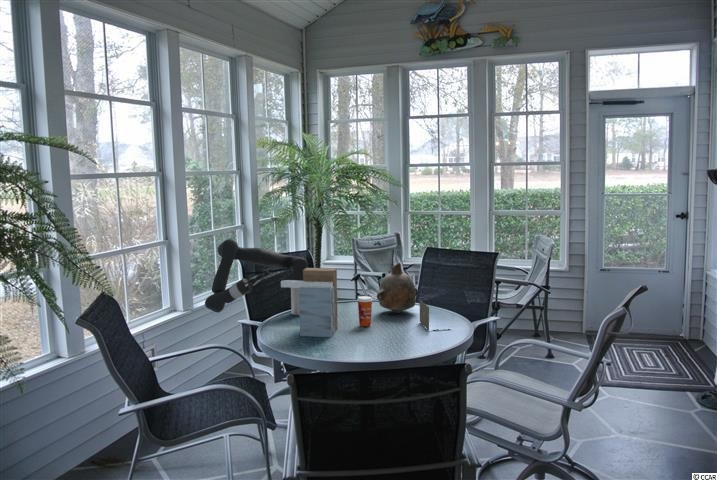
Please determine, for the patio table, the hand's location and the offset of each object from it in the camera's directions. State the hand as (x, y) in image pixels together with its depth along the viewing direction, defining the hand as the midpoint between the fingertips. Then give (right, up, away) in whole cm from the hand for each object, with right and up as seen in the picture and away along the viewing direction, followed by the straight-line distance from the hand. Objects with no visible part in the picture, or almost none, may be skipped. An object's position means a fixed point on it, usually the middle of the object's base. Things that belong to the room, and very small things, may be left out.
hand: (266, 273), depth 291 cm
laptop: (+88, -29, +11) cm, 93 cm away
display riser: (+27, -30, +1) cm, 40 cm away
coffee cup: (+51, -29, +15) cm, 60 cm away
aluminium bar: (+21, -7, -4) cm, 23 cm away
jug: (+69, -26, +41) cm, 84 cm away
